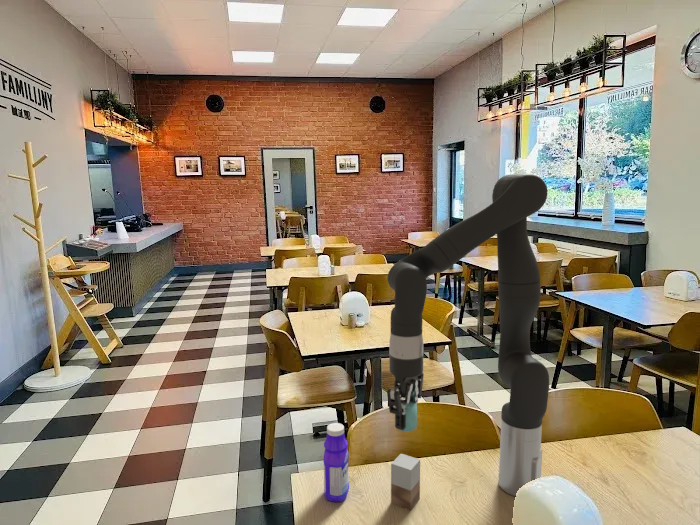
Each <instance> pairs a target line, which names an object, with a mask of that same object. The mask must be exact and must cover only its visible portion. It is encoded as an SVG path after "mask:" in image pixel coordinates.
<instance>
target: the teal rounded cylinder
mask: <svg viewBox="0 0 700 525" xmlns="http://www.w3.org/2000/svg"><path fill="white" fill-rule="evenodd" d="M417 404H418V403H417ZM417 404H416V403H414V402H412V401H409V404H407V406H406V412H405V414H406V427H405V429H404V430H401V429H397V430H399V431H401V432H411V431H414V430H416V429H417V427H418V405H417ZM401 408H402V403H401Z"/></svg>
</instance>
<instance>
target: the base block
mask: <svg viewBox="0 0 700 525" xmlns="http://www.w3.org/2000/svg"><path fill="white" fill-rule="evenodd" d="M420 494H421V479H420V480H419V481H418V482H417V484H416V485H415V486H414V487H413V489H412V490H408V489H405V488H402V487H399V486H397V485H394V484H391V483H390V504H392V505H395V506H397V507H400V508H402V509H405V510H407V511H412V510H413V509H414V507H415V506H416V504H417V503H418V502H419V500H420V499H421V497H420Z"/></svg>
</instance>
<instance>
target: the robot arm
mask: <svg viewBox="0 0 700 525" xmlns="http://www.w3.org/2000/svg"><path fill="white" fill-rule="evenodd" d="M491 194H492V196H491V198H492V199H491V200H492V203H491V204H489V205H487V206H486V207H485V208H483V209H481V211H479V212H477V213H475V214H474V215H472V216H470V217H467V218H465V219H463V220H461V221H460V222H458V223H455V224H454V225H452V226H450V227H449V228H448V229H445V230H444V231H443V232H442V233H439V235H437V236H436V237H434V239H432V240H431V241H430V242H428V243H427V244H426V245H425V246H423V247H422V248H420V249H417V250H416V251H414V252H412V253H410V254H409V255H406V256H404V257H403V258H401V259H400V260H398V261H397V262H396V263H394V264H393V265H392V266H391V268H390V269H389V271H388V274H387V282H388V285H389V287H390V288H391V289H392V290H393V291H394V297H395V299H394V307H392V309H391V313H390V337H389V344H388V346H389V347H388V348H389V349H388V350H389V353H388V354H389V355H388V357H389V363H388V364H389V365H388V366H389V367H388V368H389V369H388V370H389V372H390V374H391V375H393V376H394V384H393V388H392V389H391V388H390V389H389V388H388V389H387V391H386V395H387V404H388V410H389V411H388V412H389V413H391V414H393V415H394V427H395V429H397V430H398V429H401V430H404V429H405V427H406V414H405V412H406V406H407V404H409V401H412V402H414V403H416V404H418V403H419V399H421V398H422V392H423V384H424V383H423V382H424V375H425V374H424V337H423V312H424V308H425V305H426V304H425V303H426V298H427V292H428V289H427V287H428V285H427V284H428V283H427V278H428V277H430V276H431V275H434V274H441V273H443V272H445V271H447V270H448V269H450V268H451V267H452V266H454V265H455V264H456V263H457V262H459V261H461V259H463V258H465V257H466V256H467V255H469V254H470V253H471V252H472V251H474V250H475V249H476V248H478V247H479V246H480V245H482V244H483V243H485V242H487V241H489V239H491V238H492V237H494V236H496V241H497V244H496V245H497V250H496V251H497V285H498V288H497V291H498V293H497V294H498V305H499V312H498V314H499V332H500V334H499V335H500V336H499V350H498V360H497V371H498V372H497V373H498V375H499V378H500V379H501V381H502V382H503V384H504V385H505V386H507V387H508V388H509V389H510V392H509V393H510V394H509V401H508V402H506V403H504V404H503V405H502V407H501V416H500V417H501V418H500V437H499V438H500V444H499V462H498V485H499V488H500V489H502V491H504V493H507V494H509V495H510V496H513V497H516V496H515V495H516V493H517V491H518V490H519V488H521V487H522V486H523V485H525V484H526V483H528V482H530V481H532V480H535V479H537V478H540V477H541V478H542V468H543V467H542V464H543V450H542V447H541V446H542V434H543V433H542V432H543V431H542V430H543V429H542V428H543V419H544V416H546V415H545V414H546V413H547V408H548V400H549V393H550V376H549V375H550V373H549V371H548V368H547V367H546V365H544V364H543V363H542V362H541V361H539V360H538V359H537V358H534V357H533V356H532V352H531V350H532V349H531V339H530V334H531V327H532V323H533V321H534V319H535V317H536V315H537V313H538V310H539V308H540V303H541V285H542V284H541V272H540V267H539V264H538V261H537V258H536V256H535V253H534V250H533V249H532V246H531V243H530V240H529V236H528V234H529V233H528V222H527V221H528V220H527V219H528V218H529V217H530V216H532V215H534V214H535V213H537V212H538V211H539V210H541V209H542V208H543V206H544V205H545V204H546V200H547V198H548V186H547V184H546V182H545V181H544V180H543V179H542V178H541V176H538V175H536V174H532V173H513V174H512V173H510V174H506V175H503V176H502V177H500V178H499V179H497V182H495V185H494V186H493V190H492V193H491ZM401 403H402V408H401ZM401 430H400V431H401Z"/></svg>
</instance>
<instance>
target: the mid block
mask: <svg viewBox="0 0 700 525" xmlns="http://www.w3.org/2000/svg"><path fill="white" fill-rule="evenodd" d="M390 469H391V470H390V485H391V484H394V485H397V486H399V487H402V488H405V489H408V490H412V489H413V487H414V486H415V485H416V484H417V482H418V481H419V480H420V481H421V459H420V458H418V457H413V456H410V455H407V454H404V453H400V454H399V455H398V456H397V457H396V458H395V459H394V460H393V461H392V462H391V464H390Z"/></svg>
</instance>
